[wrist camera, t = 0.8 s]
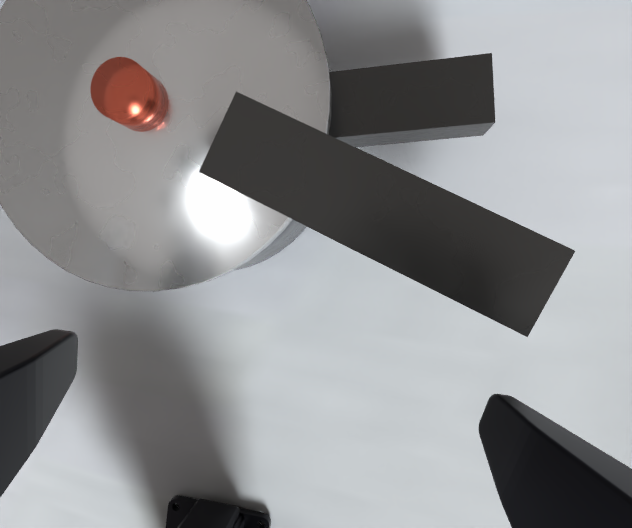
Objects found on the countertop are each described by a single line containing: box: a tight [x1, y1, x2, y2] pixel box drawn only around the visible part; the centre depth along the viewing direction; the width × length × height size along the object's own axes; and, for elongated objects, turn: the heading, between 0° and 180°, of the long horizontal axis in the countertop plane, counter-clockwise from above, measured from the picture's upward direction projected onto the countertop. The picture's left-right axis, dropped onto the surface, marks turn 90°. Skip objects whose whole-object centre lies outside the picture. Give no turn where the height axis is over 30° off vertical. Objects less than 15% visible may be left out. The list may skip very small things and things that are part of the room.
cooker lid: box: [0, 0, 575, 337], centre depth 16 cm, size 25×16×4 cm, turn 64°
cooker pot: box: [235, 53, 495, 270], centre depth 22 cm, size 26×15×7 cm, turn 94°
